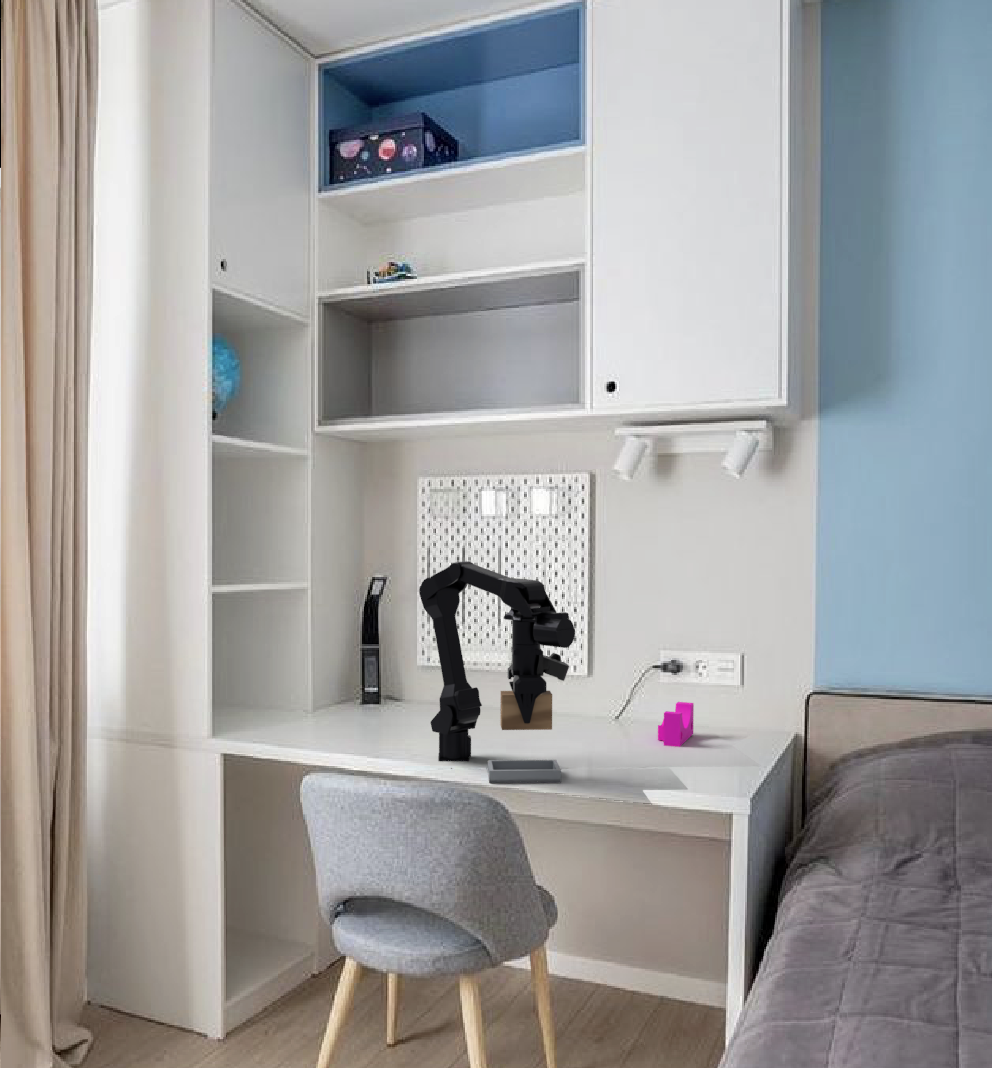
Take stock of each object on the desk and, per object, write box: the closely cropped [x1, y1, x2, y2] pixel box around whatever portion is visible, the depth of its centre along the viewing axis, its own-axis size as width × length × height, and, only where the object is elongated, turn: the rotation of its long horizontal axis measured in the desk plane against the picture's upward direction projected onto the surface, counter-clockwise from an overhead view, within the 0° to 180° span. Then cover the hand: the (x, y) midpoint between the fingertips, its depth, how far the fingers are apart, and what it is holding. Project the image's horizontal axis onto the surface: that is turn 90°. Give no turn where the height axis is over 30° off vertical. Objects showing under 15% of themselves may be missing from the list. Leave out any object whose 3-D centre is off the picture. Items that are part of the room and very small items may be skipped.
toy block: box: [657, 701, 695, 748], centre depth 233 cm, size 15×6×8 cm, turn 157°
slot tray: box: [487, 759, 562, 784], centre depth 197 cm, size 14×9×2 cm, turn 93°
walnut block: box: [499, 690, 553, 731], centre depth 197 cm, size 4×10×7 cm, turn 94°
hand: (525, 720), depth 197 cm, fingers closed on walnut block, 4 cm apart
